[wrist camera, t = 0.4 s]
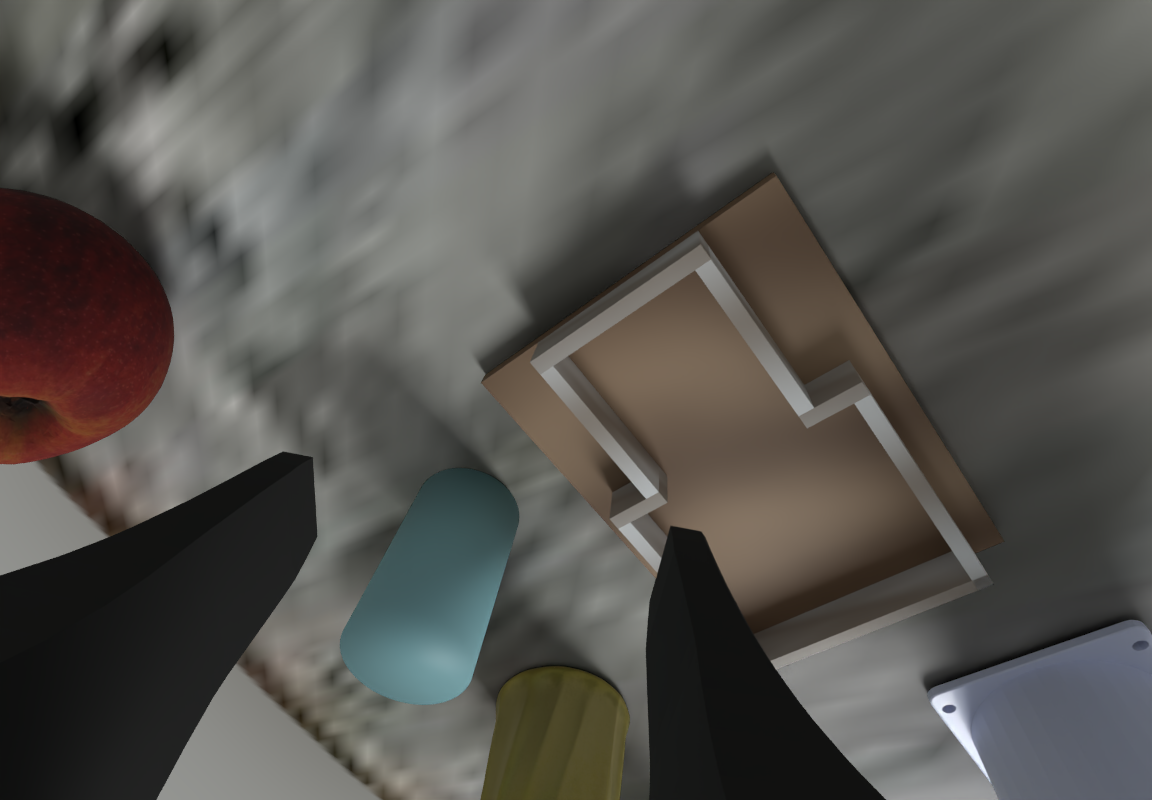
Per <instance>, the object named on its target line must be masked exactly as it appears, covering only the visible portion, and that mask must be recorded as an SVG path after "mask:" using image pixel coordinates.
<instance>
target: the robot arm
mask: <svg viewBox="0 0 1152 800" xmlns="http://www.w3.org/2000/svg"><path fill="white" fill-rule="evenodd" d="M316 538H317V522H316V505H315V488H314V471H313V457H309V456H303V455H298V454H293V453H288V452H281V453H279V454H277V455H275V456H273V457H271V458H269V459H267V460H265V461H263V462H261V463H259V464H257V465H255V466H253V467H252V468H250V469H248V470H246V471H244V472H242V473H240V474H238V475H236V476H235V477H233V478H231V479H229V480H227V481H225V482H223V483H221V484H219V485H217V486H216V487H214V488H212V489H210V490H208V491H206V492H204V493H202V494H200V495H198V496H196V497H194V498H192V499H191V500H189V501H187V502H185V503H182V504H180V505H178V506H176V507H174V508H172V509H170V510H168V511H166V512H163V513H161V514H159V515H157V516H155V517H153V518H151V519H149V520H146V521H144V522H142V523H140V524H138V525H136V526H134V527H132V528H129V529H127V530H125V531H122V532H120V533H118V534H115V535H113V536H110V537H108V538H106V539H103V540H101V541H98V542H96V543H93V544H91V545H88V546H85V547H83V548H80V549H78V550H75V551H72V552H70V553H67V554H65V555H61V556H59V557H56V558H53V559H50V560H47V561H44V562H41V563H38V564H34V565H31V566H28V567H25V568H22V569H20V570H16V571H13V572H10V573H7V574H4V575H1V576H0V800H156V799H157V797H158V796H159V793H160V792H161V790H162V788H163V786H164V784H165V783H166V781H167V779H168V777H169V775H170V773H171V772H172V770H173V768H174V766H175V764H176V762H177V760H178V759H179V757H180V755H181V753H182V751H183V749H184V747H185V746H186V744H187V742H188V740H189V738H190V737H191V735H192V733H193V732H194V730H195V728H196V726H197V725H198V723H199V721H200V719H201V718H202V716H203V714H204V712H205V711H206V709H207V707H208V705H209V704H210V702H211V700H212V698H213V697H214V695H215V694H216V692H217V691H218V689H219V687H220V686H221V684H222V683H223V681H224V680H225V678H226V677H227V675H228V674H229V672H230V671H231V670H232V668H233V667H234V665H235V664H236V663H237V661H238V660H239V658H240V657H241V656H242V654H243V653H244V651H245V650H246V648H247V647H248V646H249V644H250V643H251V641H252V640H253V639H254V637H255V636H256V634H257V633H258V632H259V630H260V629H261V627H262V626H263V625H264V623H265V622H266V620H267V619H268V618H269V616H270V615H271V613H272V612H273V611H274V609H275V608H276V606H277V605H278V603H279V602H280V601H281V599H282V598H283V596H284V595H285V593H286V592H287V590H288V589H289V588H290V586H291V585H292V583H293V582H294V580H295V578H296V577H297V575H298V573H299V571H300V569H301V567H302V565H303V564H304V562H305V560H306V558H307V556H308V554H309V552H310V550H311V548H312V546H313V544H314V542H315V540H316ZM646 667H647V695H648V721H649V747H650V795H649V800H886V799H885V798H884V797H883V796H882V795H881V794H880V793H879V792H878V791H877V790H876V789H875V788H874V787H873V786H872V785H871V784H870V783H869V782H868V781H867V780H866V779H865V778H864V777H863V776H862V775H861V774H860V773H859V772H858V771H857V770H856V768H855V767H854V766H853V765H852V764H851V763H850V762H849V761H848V760H847V759H846V758H845V756H844V755H843V754H842V753H841V752H840V751H839V749H838V748H837V747H836V746H835V745H834V744H833V743H832V741H831V740H830V739H829V738H828V737H827V736H826V734H825V733H824V732H823V731H822V730H821V729H820V727H819V726H818V725H817V724H816V723H815V722H814V720H813V719H812V718H811V717H810V715H809V714H808V713H807V712H806V710H805V709H804V708H803V706H802V705H801V704H800V703H799V701H798V700H797V698H796V697H795V696H794V694H793V693H792V692H791V690H790V689H789V687H788V686H787V685H786V683H785V682H784V680H783V679H782V678H781V676H780V675H779V673H778V672H777V670H776V669H775V667H774V666H773V664H772V663H771V661H770V660H769V658H768V656H767V655H766V653H765V652H764V650H763V648H762V647H761V645H760V644H759V642H758V640H757V639H756V637H755V635H754V634H753V632H752V630H751V629H750V627H749V625H748V623H747V622H746V620H745V618H744V616H743V614H742V612H741V611H740V609H739V607H738V605H737V603H736V601H735V599H734V598H733V596H732V594H731V592H730V590H729V588H728V586H727V584H726V582H725V580H724V578H723V576H722V573H721V571H720V569H719V567H718V565H717V563H716V561H715V558H714V556H713V554H712V551H711V549H710V547H709V544H708V542H707V540H706V537H705V536H704V534H703V533H702V531H697V530H692V529H687V528H681V527H676V526H671V525H670V529H669V533H668V536H667V540H666V544H665V547H664V551H663V555H662V558H661V562H660V566H659V569H658V573H657V577H656V580H655V584H654V587H653V591H652V595H651V598H650V604H649V616H648V628H647V642H646ZM927 696H928V698H929V701H930V703H931V705H932V707H933V708H934V709H935V711H936V712H937V713H938V714H939V716H940V717H941V718H942V720H943V721H944V722H945V724H946V725H947V726H948V728H949V729H950V730H951V731H952V733H953V734H954V735H955V737H956V738H957V739H958V741H959V742H960V743H961V745H962V746H963V747H964V749H965V750H966V751H967V752H968V754H969V755H970V756H971V758H972V759H973V760H974V762H975V763H976V764H977V766H978V767H979V768H980V769H981V771H982V772H983V773H984V775H985V776H986V777H987V779H988V780H989V781H990V783H991V784H992V786H993V788H994V790H995V792H996V795H997V797H998V799H999V800H1152V634H1151V632H1150V630H1149V629H1148V628H1147V627H1146V626H1145V624H1144V623H1143V622H1141V621H1138V620H1127V621H1123V622H1120V623H1117V624H1114V625H1112V626H1109V627H1106V628H1103V629H1100V630H1097V631H1094V632H1091V633H1088V634H1086V635H1083V636H1080V637H1077V638H1074V639H1071V640H1068V641H1065V642H1062V643H1059V644H1057V645H1054V646H1051V647H1048V648H1045V649H1042V650H1039V651H1036V652H1033V653H1031V654H1028V655H1025V656H1022V657H1019V658H1016V659H1013V660H1010V661H1007V662H1005V663H1002V664H999V665H996V666H993V667H990V668H987V669H984V670H981V671H978V672H976V673H973V674H970V675H967V676H964V677H961V678H958V679H955V680H952V681H950V682H947V683H944V684H941V685H938V686H935V687H933V688H931V689H930V690H929V691H928V694H927Z"/></svg>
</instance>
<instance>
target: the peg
mask: <svg viewBox="0 0 1152 800" xmlns="http://www.w3.org/2000/svg"><path fill="white" fill-rule="evenodd" d="M518 523H519V510H518V506H517V503H516V501H515V499H514V497H513V496H512V494H511V493H510V491H509V490H508V489H507V488H506V487H505V486H504V485H503V484H502V483H501V482H499V481H498V480H497V479H495V478H493V477H492V476H490V475H488V474H486V473H483V472H480V471H477V470H473V469H467V468H453V469H447V470H443V471H441V472H438V473H436V474H434V475H433V476H431V477H430V478H429V479H428V480H427V481H426V482H425V483H424V484H423V486H422V487H421V489H420V491H419V493H418V494H417V496H416V498H415V500H414V502H413V504H412V505H411V507H410V509H409V511H408V513H407V515H406V516H405V518H404V520H403V522H402V524H401V526H400V527H399V529H398V531H397V533H396V535H395V537H394V538H393V540H392V542H391V544H390V546H389V548H388V549H387V551H386V553H385V555H384V557H383V559H382V560H381V562H380V564H379V566H378V568H377V570H376V571H375V573H374V575H373V577H372V579H371V581H370V582H369V584H368V586H367V588H366V590H365V592H364V593H363V595H362V597H361V599H360V601H359V603H358V604H357V606H356V608H355V610H354V612H353V614H352V615H351V617H350V619H349V621H348V623H347V625H346V626H345V628H344V630H343V632H342V635H341V639H340V650H341V654H342V657H343V660H344V662H345V664H346V666H347V667H348V669H349V670H350V671H351V673H352V674H353V675H354V676H355V677H356V678H357V679H358V680H359V681H360V682H361V683H363V684H364V685H365V686H367V687H368V688H370V689H371V690H373V691H375V692H376V693H378V694H380V695H382V696H385V697H387V698H390V699H393V700H396V701H399V702H404V703H409V704H418V705H430V704H438V703H442V702H446V701H448V700H451V699H453V698H455V697H457V696H458V695H460V694H461V693H462V692H463V691H464V690H465V689H466V688H467V687H468V685H469V683H470V681H471V679H472V676H473V673H474V669H475V666H476V663H477V659H478V656H479V653H480V650H481V646H482V643H483V640H484V636H485V633H486V630H487V626H488V623H489V620H490V616H491V613H492V610H493V607H494V603H495V600H496V597H497V593H498V590H499V587H500V583H501V580H502V577H503V573H504V570H505V567H506V564H507V560H508V557H509V554H510V550H511V547H512V544H513V540H514V537H515V534H516V530H517V527H518Z"/></svg>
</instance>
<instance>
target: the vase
mask: <svg viewBox="0 0 1152 800" xmlns="http://www.w3.org/2000/svg"><path fill="white" fill-rule="evenodd" d="M629 723H630V716H629V713H628V709H627V707H626V704H625V702H624V700H623V698H622V697H621V695H620V694H619V693H618V692H617V691H616V690H615V689H614V688H613V687H612V686H611V685H610V684H608V683H607V682H606V681H604V680H603V679H601V678H599V677H597V676H595V675H593V674H591V673H588V672H585V671H582V670H579V669H575V668H570V667H563V666H548V667H540V668H535V669H530V670H526V671H524V672H521V673H519V674H517V675H515V676H514V677H512V678H511V679H510V680H509V681H507V682H506V683H505V685H504V686H503V687H502V688H501V690H500V692H499V694H498V697H497V702H496V724H495V729H494V733H493V738H492V743H491V748H490V753H489V758H488V763H487V769H486V775H485V780H484V786H483V790H482V795H481V800H620V791H621V781H622V772H623V762H624V751H625V739H626V734H627V731H628V728H629Z"/></svg>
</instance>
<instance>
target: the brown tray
mask: <svg viewBox="0 0 1152 800" xmlns="http://www.w3.org/2000/svg"><path fill="white" fill-rule="evenodd" d="M481 383H482V384H483V385H484V387H485V388H486V389H487V390H488V391H489V392H490V393H491V394H492V396H493V397H494V398H495V399H496V400H497V401H498V402H499V403H500V404H501V406H502V407H503V408H504V409H505V410H506V411H507V412H508V413H509V415H510V416H511V417H512V418H513V419H514V420H515V421H516V422H517V423H518V425H519V426H520V427H521V428H522V429H523V430H524V431H525V432H526V434H527V435H528V436H529V437H530V438H531V439H532V440H533V441H534V443H535V444H536V445H537V446H538V447H539V448H540V449H541V450H542V451H543V453H544V454H545V455H546V456H547V457H548V458H549V459H550V460H551V462H552V463H553V464H554V465H555V466H556V467H557V468H558V469H559V471H560V472H561V473H562V474H563V475H564V476H565V477H566V478H567V479H568V481H569V482H570V483H571V484H572V485H573V486H574V487H575V488H576V490H577V491H578V492H579V493H580V494H581V495H582V496H583V497H584V499H585V500H586V501H587V502H588V503H589V504H590V505H591V506H592V507H593V509H594V510H595V511H596V512H597V513H598V514H599V515H600V516H601V518H602V519H603V520H604V521H605V522H606V523H607V524H608V525H609V527H610V528H611V529H612V530H613V531H614V532H615V533H616V534H617V535H618V537H619V538H620V539H621V540H622V541H623V542H624V543H625V544H626V546H627V547H628V548H629V549H630V550H631V551H632V552H633V553H634V554H635V556H636V557H637V558H638V559H639V560H640V561H641V562H642V563H643V565H644V566H645V567H646V568H647V569H648V570H649V571H650V572H651V574H652V575H653V576H654V577H655V578H656V577H657V573H658V569H659V566H660V562H661V558H662V555H663V551H664V547H665V544H666V540H667V536H668V533H669V529H670V525H671V526H676V527H681V528H687V529H692V530H697V531H702V533H703V534H704V536H705V537H706V540H707V542H708V544H709V547H710V549H711V551H712V554H713V556H714V558H715V561H716V563H717V565H718V567H719V569H720V571H721V573H722V576H723V578H724V580H725V582H726V584H727V586H728V588H729V590H730V592H731V594H732V596H733V598H734V599H735V601H736V603H737V605H738V607H739V609H740V611H741V612H742V614H743V616H744V618H745V620H746V622H747V623H748V625H749V627H750V629H751V630H752V632H753V634H754V635H755V637H756V639H757V640H758V642H759V644H760V645H761V647H762V648H763V650H764V652H765V653H766V655H767V656H768V658H769V660H770V661H771V663H772V664H773V666H774V667H775V669H779V668H781V667H784V666H786V665H789V664H792V663H794V662H797V661H799V660H802V659H804V658H807V657H809V656H812V655H815V654H817V653H820V652H822V651H825V650H827V649H830V648H832V647H835V646H838V645H840V644H843V643H845V642H848V641H850V640H853V639H855V638H858V637H861V636H863V635H866V634H868V633H871V632H873V631H876V630H879V629H881V628H884V627H886V626H889V625H891V624H894V623H896V622H899V621H902V620H904V619H907V618H909V617H912V616H914V615H917V614H919V613H922V612H925V611H927V610H930V609H932V608H935V607H937V606H940V605H942V604H945V603H948V602H950V601H953V600H955V599H958V598H960V597H963V596H966V595H968V594H971V593H973V592H976V591H978V590H981V589H983V588H986V587H989V586H991V585H994V584H993V582H992V580H991V579H990V577H989V575H988V574H987V572H986V571H985V569H984V567H983V566H982V564H981V562H980V561H979V559H978V558H977V556H976V554H975V553H978V552H980V551H982V550H985V549H987V548H990V547H992V546H995V545H997V544H999V543H1002V542H1004V540H1003V538H1002V537H1001V535H1000V533H999V532H998V530H997V529H996V527H995V525H994V524H993V522H992V520H991V519H990V517H989V516H988V514H987V512H986V511H985V509H984V508H983V506H982V504H981V503H980V501H979V500H978V498H977V496H976V495H975V493H974V492H973V490H972V488H971V487H970V485H969V484H968V482H967V480H966V479H965V477H964V476H963V474H962V472H961V471H960V469H959V468H958V466H957V464H956V463H955V461H954V460H953V458H952V456H951V455H950V453H949V452H948V450H947V448H946V447H945V445H944V444H943V442H942V440H941V439H940V437H939V436H938V434H937V432H936V431H935V429H934V427H933V426H932V424H931V423H930V421H929V419H928V418H927V416H926V415H925V413H924V411H923V410H922V408H921V407H920V405H919V403H918V402H917V400H916V399H915V397H914V395H913V394H912V392H911V391H910V389H909V387H908V386H907V384H906V383H905V381H904V379H903V378H902V376H901V375H900V373H899V371H898V370H897V368H896V367H895V365H894V363H893V362H892V360H891V359H890V357H889V355H888V354H887V352H886V351H885V349H884V347H883V346H882V344H881V343H880V341H879V339H878V338H877V336H876V334H875V333H874V331H873V330H872V328H871V326H870V325H869V323H868V322H867V320H866V318H865V317H864V315H863V314H862V312H861V310H860V309H859V307H858V306H857V304H856V302H855V301H854V299H853V298H852V296H851V294H850V293H849V291H848V290H847V288H846V286H845V285H844V283H843V282H842V280H841V278H840V277H839V275H838V274H837V272H836V270H835V269H834V267H833V266H832V264H831V262H830V261H829V259H828V258H827V256H826V254H825V253H824V251H823V250H822V248H821V246H820V245H819V243H818V241H817V240H816V238H815V237H814V235H813V233H812V232H811V230H810V229H809V227H808V225H807V224H806V222H805V221H804V219H803V217H802V216H801V214H800V213H799V211H798V209H797V208H796V206H795V205H794V203H793V201H792V200H791V198H790V197H789V195H788V193H787V192H786V190H785V189H784V187H783V185H782V184H781V182H780V181H779V179H778V177H777V176H776V175H775V173H774V172H773V173H771V174H770V175H768V176H767V177H765V178H764V179H763V180H761V181H760V182H758V183H757V184H756V185H754V186H753V187H751V188H750V189H748V190H747V191H746V192H744V193H743V194H741V195H740V196H738V197H737V198H736V199H734V200H733V201H731V202H730V203H729V204H727V205H726V206H724V207H723V208H721V209H720V210H719V211H717V212H716V213H714V214H713V215H711V216H710V217H709V218H707V219H706V220H704V221H703V222H702V223H700V224H699V225H697V226H696V227H694V228H693V229H692V230H690V231H689V232H687V233H686V234H685V235H683V236H682V237H680V238H679V239H677V240H676V241H675V242H673V243H672V244H670V245H669V246H667V247H666V248H665V249H663V250H662V251H660V252H659V253H658V254H656V255H655V256H653V257H652V258H650V259H649V260H648V261H646V262H645V263H643V264H642V265H640V266H639V267H638V268H636V269H635V270H633V271H632V272H631V273H629V274H628V275H626V276H625V277H623V278H622V279H621V280H619V281H618V282H616V283H615V284H613V285H612V286H611V287H609V288H608V289H606V290H605V291H604V292H602V293H601V294H599V295H598V296H596V297H595V298H594V299H592V300H591V301H589V302H588V303H587V304H585V305H584V306H582V307H581V308H579V309H578V310H577V311H575V312H574V313H572V314H571V315H569V316H568V317H567V318H565V319H564V320H562V321H561V322H560V323H558V324H557V325H555V326H554V327H552V328H551V329H550V330H548V331H547V332H545V333H544V334H542V335H541V336H540V337H538V338H537V339H535V340H534V341H533V342H531V343H530V344H528V345H527V346H525V347H524V348H523V349H521V350H520V351H518V352H517V353H515V354H514V355H513V356H511V357H510V358H508V359H507V360H506V361H504V362H503V363H501V364H500V365H498V366H497V367H496V368H494V369H493V370H491V371H490V372H489V373H487V374H486V375H485V376H484V378H483V380H482V382H481Z"/></svg>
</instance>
